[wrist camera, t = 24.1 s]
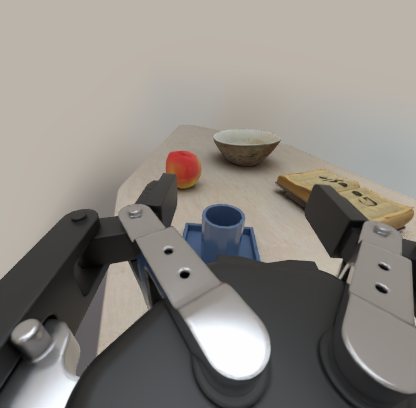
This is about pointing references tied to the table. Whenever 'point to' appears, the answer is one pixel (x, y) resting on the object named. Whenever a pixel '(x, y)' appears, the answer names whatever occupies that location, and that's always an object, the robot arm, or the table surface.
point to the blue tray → (246, 249)
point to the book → (347, 196)
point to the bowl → (246, 145)
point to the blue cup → (221, 231)
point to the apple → (184, 168)
